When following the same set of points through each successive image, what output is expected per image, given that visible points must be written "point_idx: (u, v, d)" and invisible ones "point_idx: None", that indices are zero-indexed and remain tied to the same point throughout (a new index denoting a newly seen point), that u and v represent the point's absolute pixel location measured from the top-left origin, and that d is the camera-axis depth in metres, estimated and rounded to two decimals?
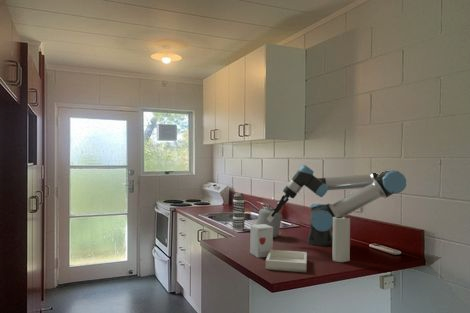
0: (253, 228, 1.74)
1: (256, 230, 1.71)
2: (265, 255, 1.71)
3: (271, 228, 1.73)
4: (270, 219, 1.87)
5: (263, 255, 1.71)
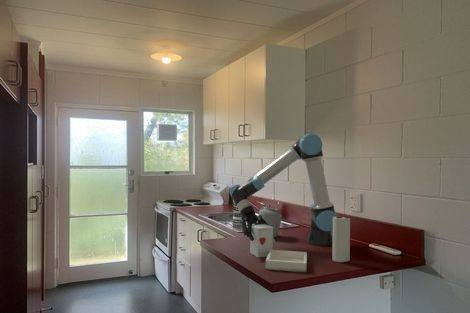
0: (253, 228, 1.74)
1: (256, 230, 1.71)
2: (265, 255, 1.71)
3: (271, 228, 1.73)
4: (255, 243, 1.70)
5: (263, 255, 1.71)
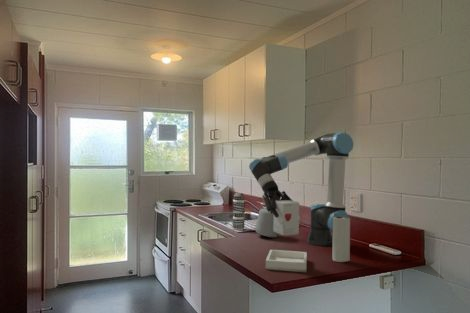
0: (277, 204, 1.59)
1: (281, 205, 1.56)
2: (291, 233, 1.56)
3: (297, 203, 1.57)
4: (280, 219, 1.54)
5: (289, 233, 1.55)
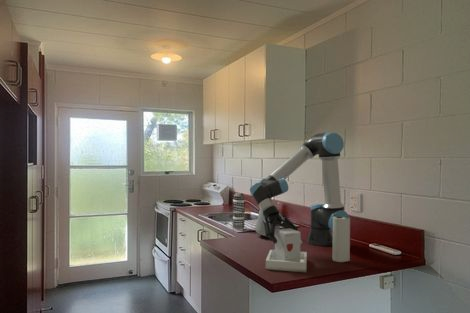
0: (279, 233, 1.58)
1: (283, 235, 1.55)
2: None
3: (299, 233, 1.57)
4: (279, 245, 1.54)
5: None
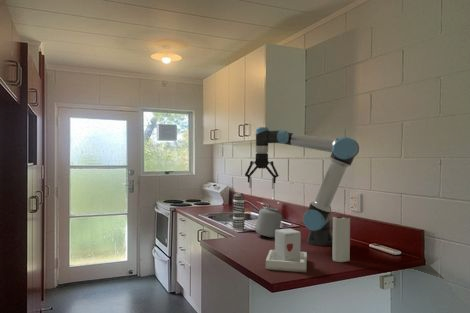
0: (279, 233, 1.58)
1: (283, 235, 1.55)
2: None
3: (299, 233, 1.57)
4: None
5: None
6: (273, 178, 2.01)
